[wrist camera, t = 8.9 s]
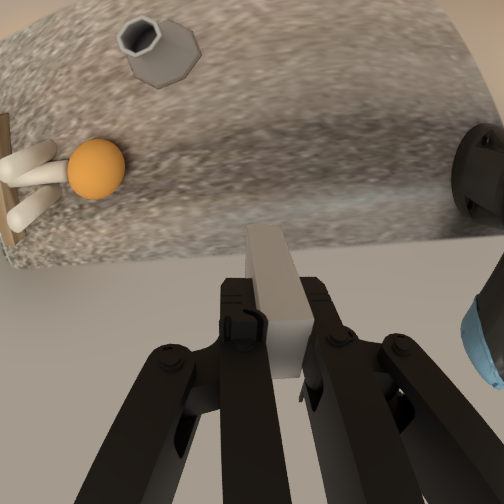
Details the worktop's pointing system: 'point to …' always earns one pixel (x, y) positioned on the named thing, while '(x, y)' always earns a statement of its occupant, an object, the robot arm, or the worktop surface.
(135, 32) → the flask
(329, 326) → the robot arm
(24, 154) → the pin
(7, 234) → the back wall
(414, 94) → the worktop surface
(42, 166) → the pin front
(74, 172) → the ball
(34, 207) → the pin
